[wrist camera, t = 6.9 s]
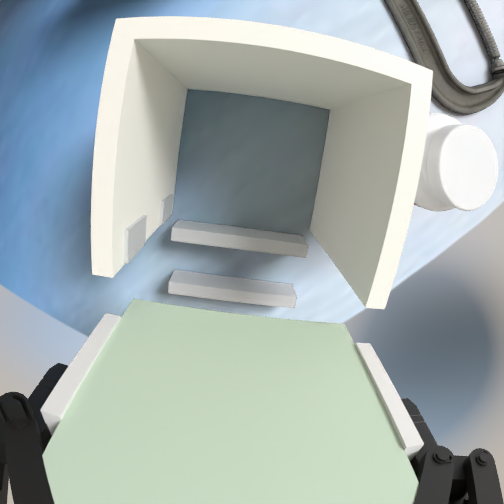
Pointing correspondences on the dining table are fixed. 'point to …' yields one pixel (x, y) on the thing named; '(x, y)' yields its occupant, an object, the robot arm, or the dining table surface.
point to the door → (226, 416)
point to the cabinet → (269, 86)
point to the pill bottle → (455, 166)
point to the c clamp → (431, 57)
